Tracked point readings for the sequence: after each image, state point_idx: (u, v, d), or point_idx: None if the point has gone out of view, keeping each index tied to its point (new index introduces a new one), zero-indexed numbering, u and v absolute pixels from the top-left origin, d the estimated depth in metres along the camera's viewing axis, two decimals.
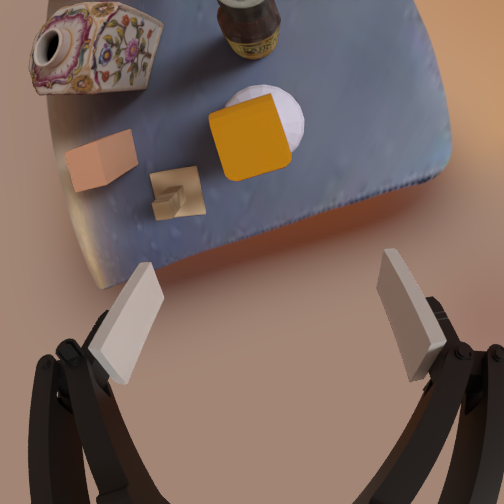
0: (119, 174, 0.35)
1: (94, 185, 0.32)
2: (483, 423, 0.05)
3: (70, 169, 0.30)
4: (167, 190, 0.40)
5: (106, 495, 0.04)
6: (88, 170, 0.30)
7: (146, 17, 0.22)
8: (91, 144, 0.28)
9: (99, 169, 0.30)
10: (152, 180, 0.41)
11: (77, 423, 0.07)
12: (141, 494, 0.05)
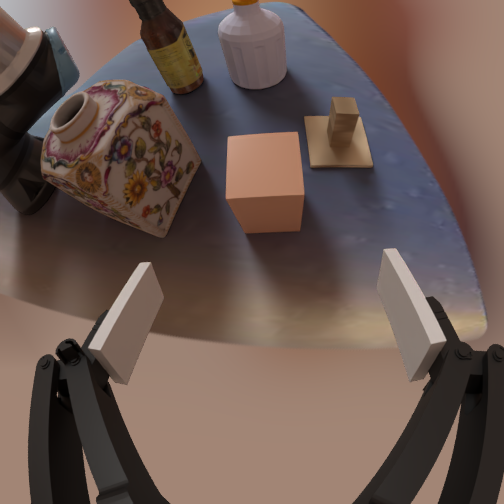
0: None
1: (296, 151, 0.22)
2: (483, 423, 0.05)
3: (258, 192, 0.21)
4: (330, 136, 0.30)
5: (105, 495, 0.04)
6: (269, 156, 0.22)
7: None
8: (230, 143, 0.23)
9: (271, 138, 0.22)
10: (319, 163, 0.31)
11: (77, 423, 0.07)
12: (141, 494, 0.05)
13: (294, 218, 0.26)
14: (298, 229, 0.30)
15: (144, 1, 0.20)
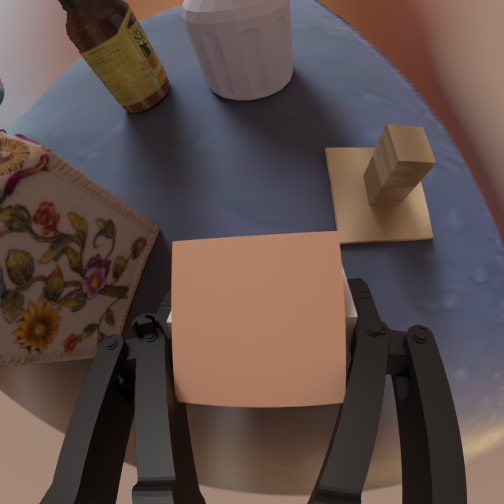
0: None
1: (334, 291, 0.09)
2: (421, 409, 0.06)
3: (244, 397, 0.09)
4: (373, 190, 0.18)
5: (145, 487, 0.05)
6: (268, 304, 0.09)
7: None
8: (177, 261, 0.10)
9: (273, 250, 0.10)
10: (353, 238, 0.19)
11: (136, 404, 0.07)
12: (183, 492, 0.05)
13: None
14: None
15: None
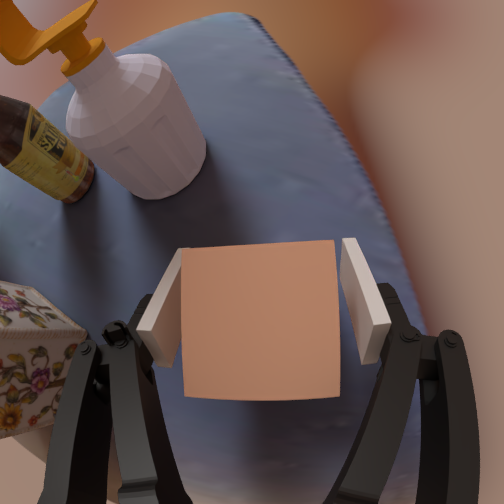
0: None
1: (330, 295, 0.10)
2: (445, 412, 0.06)
3: (248, 391, 0.10)
4: None
5: (130, 489, 0.05)
6: (270, 307, 0.10)
7: None
8: (186, 267, 0.11)
9: (274, 257, 0.11)
10: None
11: (113, 409, 0.07)
12: (167, 492, 0.05)
13: None
14: None
15: None
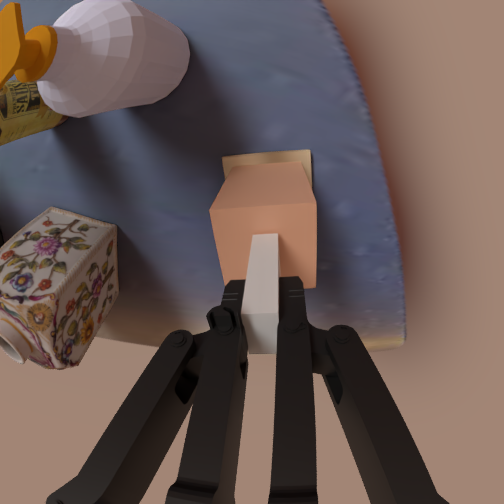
0: (305, 182, 0.18)
1: (311, 236, 0.16)
2: (357, 411, 0.07)
3: None
4: None
5: (183, 489, 0.05)
6: None
7: (23, 229, 0.23)
8: (215, 222, 0.16)
9: (275, 214, 0.16)
10: None
11: (195, 400, 0.08)
12: (220, 499, 0.05)
13: None
14: None
15: None
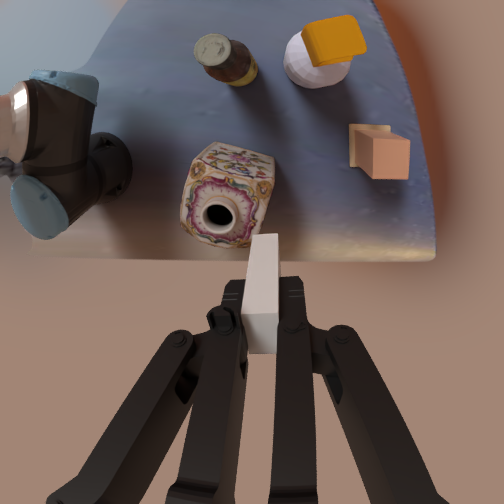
0: (398, 136, 0.36)
1: (407, 154, 0.34)
2: (357, 411, 0.07)
3: (388, 176, 0.36)
4: None
5: (183, 489, 0.05)
6: (394, 155, 0.34)
7: (208, 148, 0.40)
8: (374, 143, 0.34)
9: (396, 143, 0.33)
10: (356, 165, 0.45)
11: (195, 400, 0.08)
12: (220, 499, 0.05)
13: None
14: None
15: (221, 66, 0.23)
